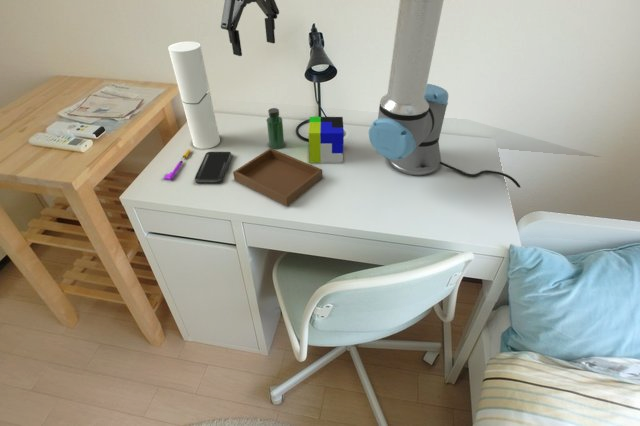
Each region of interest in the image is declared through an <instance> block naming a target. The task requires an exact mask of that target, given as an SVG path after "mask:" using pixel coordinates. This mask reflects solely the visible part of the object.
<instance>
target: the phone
mask: <svg viewBox="0 0 640 426" xmlns="http://www.w3.org/2000/svg"><path fill="white" fill-rule="evenodd" d="M232 157H233V155H232V152H231V151H207V152H206V153H205V155H204V157H203V159H202V161H201V163H200V166H199V168H198V169H197V172H196V174H195V176H194V181H195V183H196V184H199V185H201V184H203V185H204V184H205V185H206V184H212V185H215V184H216V185H217V184H218V185H219V184H221V183H223V182H224V179H225V177H226V174H227V171H228V168H229V165H230V163H231V160H232Z"/></svg>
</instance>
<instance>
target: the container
mask: <svg viewBox="0 0 640 426" xmlns="http://www.w3.org/2000/svg"><path fill="white" fill-rule="evenodd" d="M167 50H168V53H169V57H170V60H171V65H172V69H173V72H174V77H175V80H176V84H177V88H178V92H179V96H180V99H181V103H182V106H183V110H184V115H185V117H186V122H187V125H188V130H189V134H190V137H191V141H192V145H193V146H194V147H195V148H197V149H202V150H205V149H206V150H207V149H211V148H214V147H216V146H218V145H219V144H220V143H221V139H220V134H219V133H220V132H219V129H218V125H217V120H216V115H215V110H214V105H213V100H212V94H211V90H210V85H209V79H208V76H207V71H206V66H205V61H204V56H203V52H202V46H201V44H200V42H197V41H178V42H175V43H172V44H170V45H169V46H168V47H167Z"/></svg>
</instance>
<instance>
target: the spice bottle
mask: <svg viewBox="0 0 640 426" xmlns="http://www.w3.org/2000/svg"><path fill="white" fill-rule="evenodd" d="M267 111H268V117H267V118H266V127H267V136H268V144H269V145H268V146H269V147H270V148H271V149H274V150H278V149H279V150H280V149H283V147H284V146H285V135H284V124H283V118H282V116H280V109H279V108H277V107H272V108H269V109H268V110H267Z"/></svg>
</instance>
